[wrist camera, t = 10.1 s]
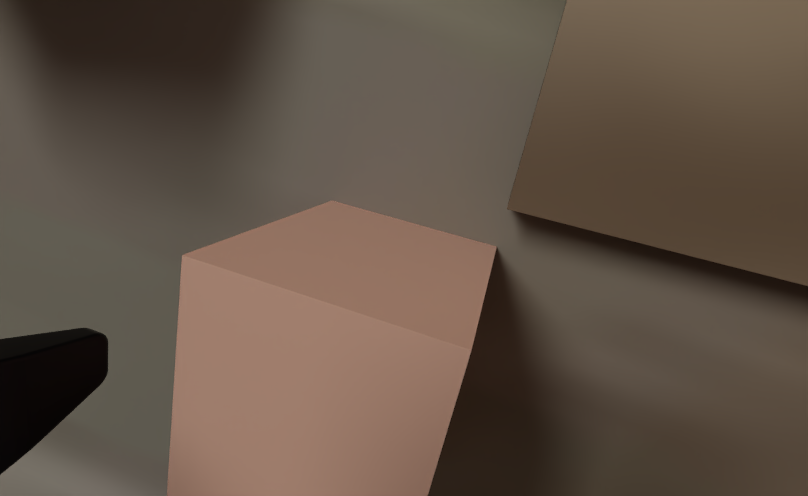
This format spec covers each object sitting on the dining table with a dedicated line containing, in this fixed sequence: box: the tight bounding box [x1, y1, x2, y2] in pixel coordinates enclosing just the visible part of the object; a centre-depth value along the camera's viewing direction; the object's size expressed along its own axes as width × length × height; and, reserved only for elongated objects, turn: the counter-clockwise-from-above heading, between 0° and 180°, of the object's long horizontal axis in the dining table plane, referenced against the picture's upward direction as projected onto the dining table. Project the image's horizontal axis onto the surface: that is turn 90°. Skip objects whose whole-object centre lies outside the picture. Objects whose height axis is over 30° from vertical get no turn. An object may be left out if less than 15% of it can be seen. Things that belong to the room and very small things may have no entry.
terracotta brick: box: [167, 201, 497, 496], centre depth 9 cm, size 6×4×5 cm, turn 168°
